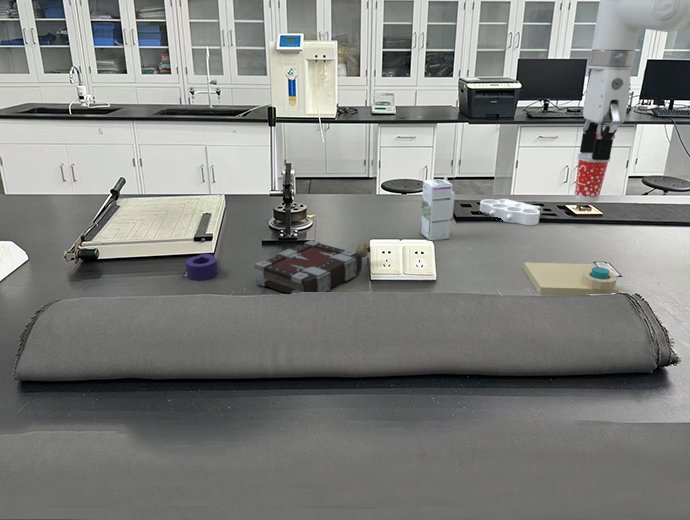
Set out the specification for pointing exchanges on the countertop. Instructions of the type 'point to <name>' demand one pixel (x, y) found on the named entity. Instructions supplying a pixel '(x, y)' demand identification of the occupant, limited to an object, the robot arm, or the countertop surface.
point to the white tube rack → (512, 211)
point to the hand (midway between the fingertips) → (594, 155)
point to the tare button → (600, 273)
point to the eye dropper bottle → (451, 200)
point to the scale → (568, 279)
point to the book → (310, 267)
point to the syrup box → (436, 209)
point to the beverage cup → (589, 177)
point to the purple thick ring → (201, 267)
